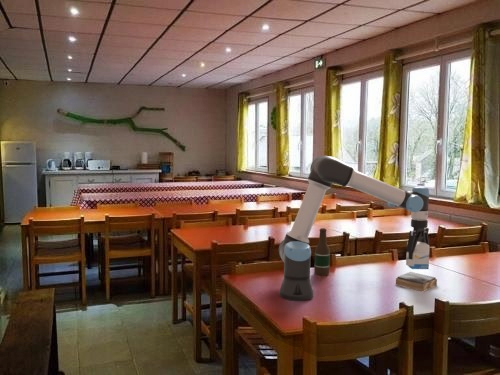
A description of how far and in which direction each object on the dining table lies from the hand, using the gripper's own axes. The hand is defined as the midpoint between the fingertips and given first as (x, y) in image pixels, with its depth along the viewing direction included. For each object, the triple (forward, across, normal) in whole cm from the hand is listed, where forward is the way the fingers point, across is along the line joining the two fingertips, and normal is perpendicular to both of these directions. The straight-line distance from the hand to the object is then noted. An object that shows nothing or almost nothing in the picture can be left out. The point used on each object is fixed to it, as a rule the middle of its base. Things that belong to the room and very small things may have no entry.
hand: (417, 263), depth 226 cm
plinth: (+11, 0, 0) cm, 11 cm away
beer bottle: (+11, -20, +42) cm, 48 cm away
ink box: (+2, 0, 0) cm, 2 cm away
